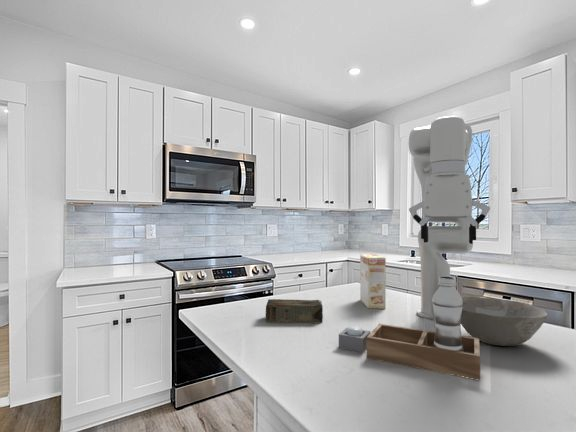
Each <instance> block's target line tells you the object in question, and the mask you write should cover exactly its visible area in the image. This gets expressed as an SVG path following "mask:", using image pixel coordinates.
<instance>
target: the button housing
mask: <svg viewBox="0 0 576 432" xmlns="http://www.w3.org/2000/svg"><path fill="white" fill-rule="evenodd" d="M370 333H371V331H370V330H365V329H362V336H361V337H359V336H353V335H347V327H346V328H344V329H343V330H341V332H340V333H338V348H339V349H342V350H349V351H353V352H360V353H365V351H367V336H368V335H369V334H370Z"/></svg>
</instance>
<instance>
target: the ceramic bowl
mask: <svg viewBox="0 0 576 432" xmlns="http://www.w3.org/2000/svg"><path fill="white" fill-rule="evenodd" d="M462 300H463V306H462V314H461V324H460V325H461V326H462V328H463V329H464V330H465V331H466V333H467V334H468V335H469V336H470V337H474V338H479V342H481V343H486V344H488V345H492V346H501V347H503V346H505V347H506V346H508V347H511V346H512V347H513V346H520V345H522V344H524V343H526V342H528V341H529V340H531V338H533V336H534V335H535V334H536V333H537V332H538V331H539V329H540V328H541V327H542V325H543V324H544V323H545V321H546V320H547V317H548V313H547V312H546V311H545V310H544V309H542V308H540V307H538V306H535V305H534V304H529V303H526V302H521V301H515V300H510V299H508V300H507V299H501V298H493V297H481V296H480V297H479V296H464V297H462Z"/></svg>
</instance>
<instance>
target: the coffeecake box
mask: <svg viewBox="0 0 576 432" xmlns="http://www.w3.org/2000/svg"><path fill="white" fill-rule="evenodd" d="M359 257H360V259H359V261H360V262H359V263H360V268H359V270H360V272H359V273H360V281H359V282H360V284H359V285H360V289H359V290H360V293H359V294H360V295H359V296H360V297H359V298H360V299H359V300H360V301H361V302H362V303H363V304H364V305H365V307H366V308H367V309H379V310H380V309H381V310H382V309H385V310H386V308H387V307H386V305H387V304H386V299H387V297H386V282H387V280H386V279H387V277H386V260H387V258H386V257H385V256H381V255H378V254H375V253H374V254H373V253H369V254H368V253H364V254H361V253H360V255H359Z"/></svg>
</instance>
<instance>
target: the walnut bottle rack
mask: <svg viewBox="0 0 576 432" xmlns="http://www.w3.org/2000/svg"><path fill="white" fill-rule="evenodd" d="M461 339H462V345H463V349H464V352H460V351H455V350H449V349H443V348H437V347H433V344H434V341H435V331H432V330H425V329H419V328H418V329H417V328H411V327H404V326H397V325H391V324H386V323H385V324H384V323H378V324H377V326H376V327H374V329H373V330H372V331H370V334H369V335H368V336H367V349H366V359H371V360H375V361H376V360H377V361H380V362H386V363H391V364H395V365H401V366H406V367H409V368H410V367H411V368H416V369H421V370H427V371H430V372H435V373H441V374H445V373H446V375H450V374H453V375H452V376H455V375H459V376H458V377H460V376H464V377H463V378H465V377H468V378H467V379H470V378H473V379H472V380H475V379H478V380H477V381H481V361H480V360H481V354H480V353H481V352H480V350H481V349H480V340H479V338H474V337H472V336H466V335H461Z"/></svg>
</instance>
